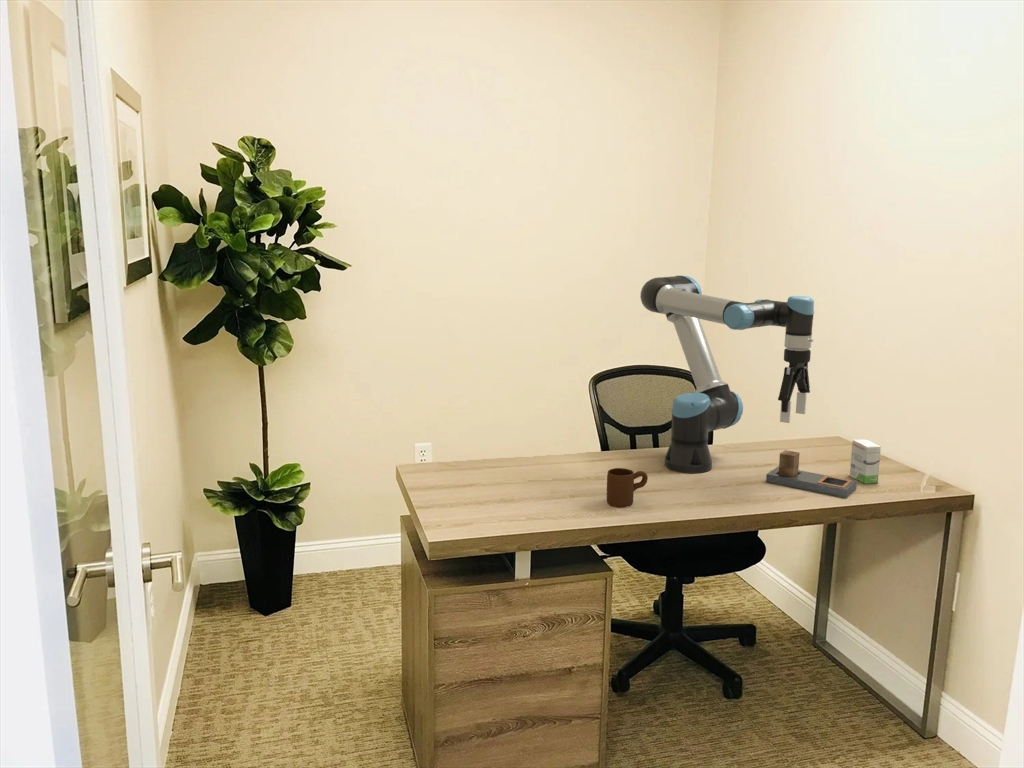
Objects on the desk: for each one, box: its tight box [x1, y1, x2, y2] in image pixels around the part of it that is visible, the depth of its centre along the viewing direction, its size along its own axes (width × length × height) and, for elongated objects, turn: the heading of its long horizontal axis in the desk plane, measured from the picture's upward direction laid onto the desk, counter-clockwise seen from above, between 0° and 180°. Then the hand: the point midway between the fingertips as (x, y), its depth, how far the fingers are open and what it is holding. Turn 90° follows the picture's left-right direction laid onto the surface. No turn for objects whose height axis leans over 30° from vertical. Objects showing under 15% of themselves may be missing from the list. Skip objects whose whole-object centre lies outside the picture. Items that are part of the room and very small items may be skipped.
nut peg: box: [778, 449, 801, 478], centre depth 261 cm, size 4×4×9 cm
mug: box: [606, 467, 649, 508], centre depth 242 cm, size 12×8×9 cm, turn 104°
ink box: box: [849, 439, 881, 485], centre depth 263 cm, size 9×5×12 cm, turn 9°
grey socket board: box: [765, 465, 858, 499], centre depth 258 cm, size 24×10×3 cm, turn 53°
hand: (792, 417), depth 258 cm, fingers open, 13 cm apart
